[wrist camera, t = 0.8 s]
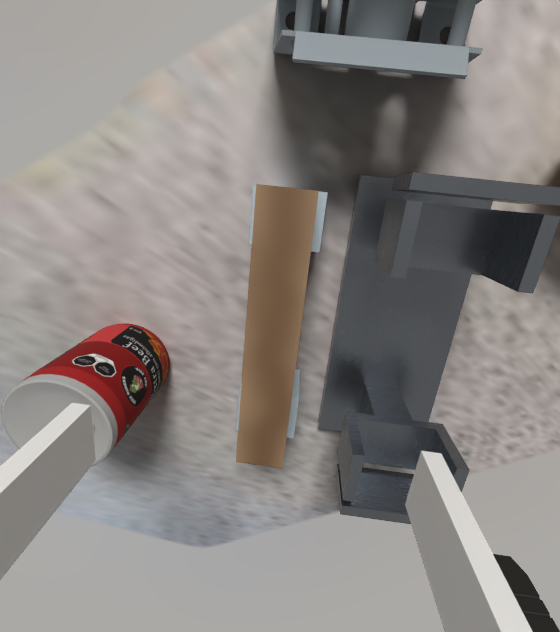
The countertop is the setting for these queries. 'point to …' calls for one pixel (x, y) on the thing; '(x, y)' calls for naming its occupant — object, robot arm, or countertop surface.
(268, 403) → the rail
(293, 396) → the rest block
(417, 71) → the bracket
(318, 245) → the rest block
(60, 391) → the canned food
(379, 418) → the bracket
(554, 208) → the countertop surface
